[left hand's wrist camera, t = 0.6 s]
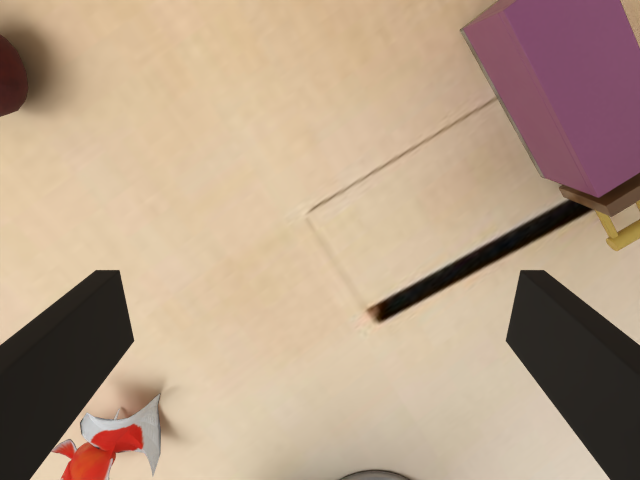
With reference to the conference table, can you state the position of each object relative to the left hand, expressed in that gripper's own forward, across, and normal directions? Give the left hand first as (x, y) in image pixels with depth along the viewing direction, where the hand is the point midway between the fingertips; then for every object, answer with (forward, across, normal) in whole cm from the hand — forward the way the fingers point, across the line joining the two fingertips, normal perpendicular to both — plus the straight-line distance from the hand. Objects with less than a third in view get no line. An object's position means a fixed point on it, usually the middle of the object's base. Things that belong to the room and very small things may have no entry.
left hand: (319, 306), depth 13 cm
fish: (+27, +25, +32) cm, 49 cm away
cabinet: (+27, -20, -7) cm, 34 cm away
